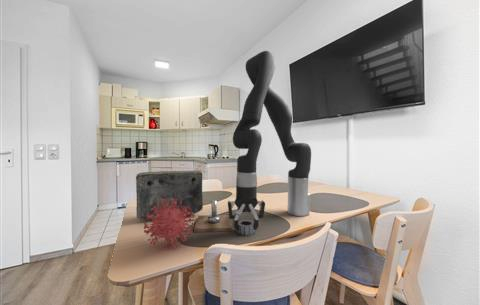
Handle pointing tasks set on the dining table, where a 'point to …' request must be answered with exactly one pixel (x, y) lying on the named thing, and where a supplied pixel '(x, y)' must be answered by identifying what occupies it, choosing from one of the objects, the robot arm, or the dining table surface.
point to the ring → (246, 227)
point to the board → (205, 226)
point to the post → (214, 213)
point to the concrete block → (168, 191)
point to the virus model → (169, 223)
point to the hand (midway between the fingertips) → (245, 229)
